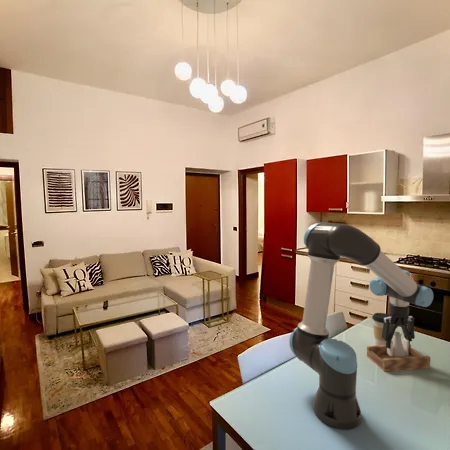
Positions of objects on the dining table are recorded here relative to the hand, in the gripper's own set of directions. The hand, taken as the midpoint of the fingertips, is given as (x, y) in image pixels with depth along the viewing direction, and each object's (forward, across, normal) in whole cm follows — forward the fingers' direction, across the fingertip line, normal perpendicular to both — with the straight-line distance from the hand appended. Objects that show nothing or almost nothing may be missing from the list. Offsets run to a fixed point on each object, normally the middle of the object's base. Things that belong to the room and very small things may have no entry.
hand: (397, 354), depth 129 cm
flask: (0, 0, 0) cm, 1 cm away
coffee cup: (+4, +4, +16) cm, 17 cm away
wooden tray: (+4, 0, 0) cm, 4 cm away
